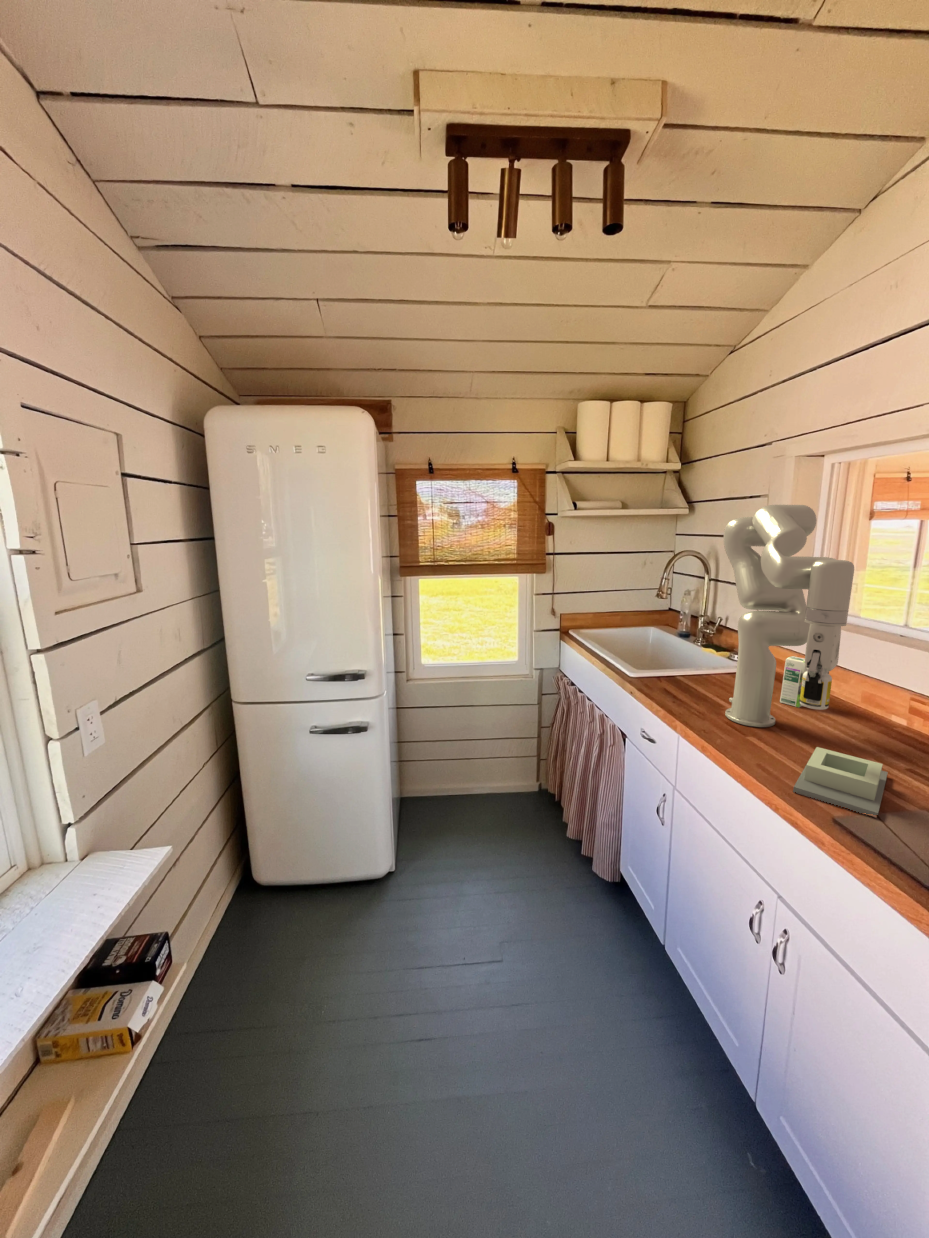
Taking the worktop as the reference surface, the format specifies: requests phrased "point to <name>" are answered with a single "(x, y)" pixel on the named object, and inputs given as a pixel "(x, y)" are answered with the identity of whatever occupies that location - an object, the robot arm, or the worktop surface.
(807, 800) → the worktop surface
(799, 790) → the socket board
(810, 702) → the supplement bottle
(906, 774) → the worktop surface
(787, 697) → the syrup box
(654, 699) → the worktop surface
